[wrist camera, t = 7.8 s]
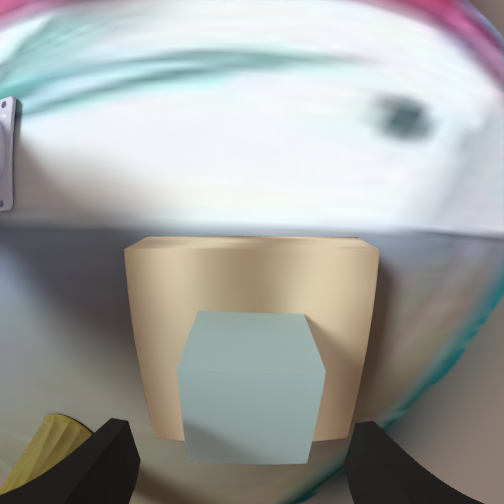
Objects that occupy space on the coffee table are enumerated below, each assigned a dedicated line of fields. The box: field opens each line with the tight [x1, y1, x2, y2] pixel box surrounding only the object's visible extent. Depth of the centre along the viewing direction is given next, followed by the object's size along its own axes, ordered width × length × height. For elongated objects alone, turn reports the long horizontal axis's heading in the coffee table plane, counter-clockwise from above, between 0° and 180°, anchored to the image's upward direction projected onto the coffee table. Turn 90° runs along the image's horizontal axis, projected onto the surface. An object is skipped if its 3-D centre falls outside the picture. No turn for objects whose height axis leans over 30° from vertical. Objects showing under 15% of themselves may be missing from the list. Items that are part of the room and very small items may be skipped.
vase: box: [0, 414, 93, 495], centre depth 14 cm, size 6×6×14 cm
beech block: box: [124, 236, 380, 441], centre depth 18 cm, size 12×12×4 cm
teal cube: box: [177, 311, 326, 465], centre depth 13 cm, size 5×5×5 cm
